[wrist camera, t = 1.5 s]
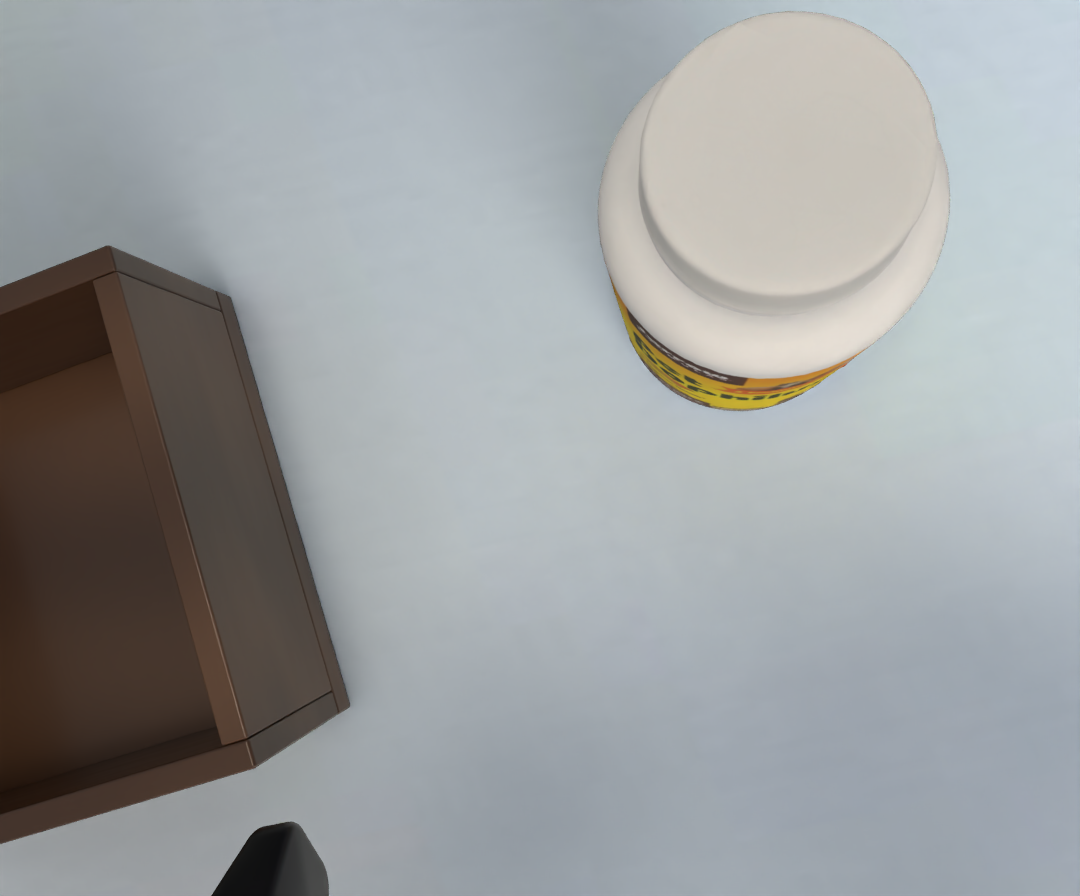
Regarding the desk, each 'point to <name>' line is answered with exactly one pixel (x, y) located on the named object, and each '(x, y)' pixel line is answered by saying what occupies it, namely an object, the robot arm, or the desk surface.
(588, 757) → the desk surface
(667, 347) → the supplement bottle
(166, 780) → the desk tray
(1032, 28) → the desk surface
